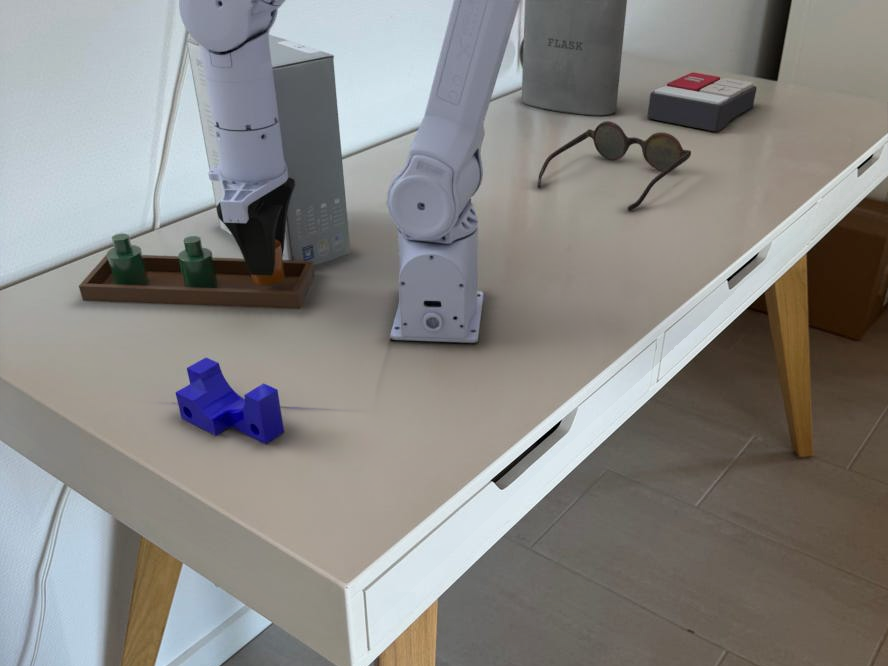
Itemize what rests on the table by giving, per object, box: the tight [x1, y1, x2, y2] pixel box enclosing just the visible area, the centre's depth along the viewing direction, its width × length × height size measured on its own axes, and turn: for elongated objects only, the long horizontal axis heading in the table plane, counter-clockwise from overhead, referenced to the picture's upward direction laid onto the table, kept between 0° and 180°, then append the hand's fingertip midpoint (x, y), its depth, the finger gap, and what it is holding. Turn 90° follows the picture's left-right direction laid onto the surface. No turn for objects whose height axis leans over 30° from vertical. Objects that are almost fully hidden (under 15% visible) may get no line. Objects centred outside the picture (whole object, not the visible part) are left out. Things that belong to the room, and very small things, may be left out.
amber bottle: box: [251, 239, 285, 285], centre depth 87 cm, size 3×3×5 cm
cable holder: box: [174, 357, 285, 445], centre depth 71 cm, size 8×4×4 cm, turn 55°
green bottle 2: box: [177, 235, 218, 288], centre depth 88 cm, size 3×3×5 cm
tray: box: [78, 254, 315, 310], centre depth 90 cm, size 7×21×2 cm, turn 86°
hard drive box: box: [185, 34, 351, 266], centre depth 93 cm, size 16×8×20 cm, turn 42°
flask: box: [521, 0, 628, 117], centre depth 131 cm, size 15×6×20 cm, turn 65°
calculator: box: [646, 72, 758, 132], centre depth 135 cm, size 11×4×15 cm
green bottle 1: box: [106, 233, 149, 286], centre depth 89 cm, size 3×3×5 cm
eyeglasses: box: [537, 120, 692, 212], centre depth 112 cm, size 15×15×5 cm
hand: (267, 264), depth 88 cm, fingers closed on amber bottle, 3 cm apart
